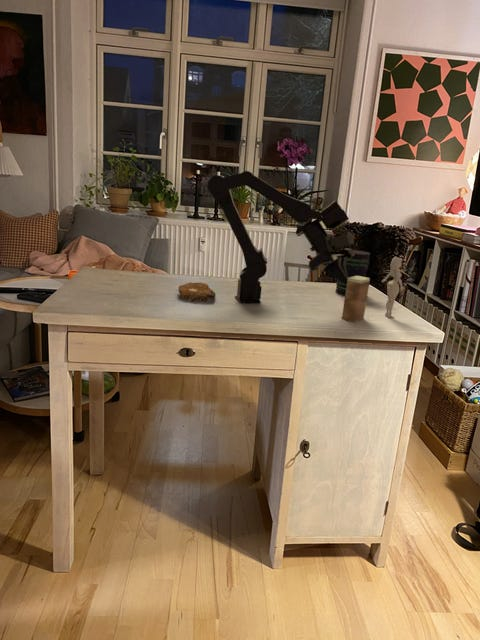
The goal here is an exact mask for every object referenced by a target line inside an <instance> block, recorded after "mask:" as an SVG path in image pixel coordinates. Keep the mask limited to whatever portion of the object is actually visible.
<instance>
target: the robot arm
mask: <svg viewBox="0 0 480 640" xmlns="http://www.w3.org/2000/svg"><path fill="white" fill-rule="evenodd" d="M244 186H245V187H248V188H249V189H250V190H251V189H252V190H253V191H254V192H256V193H258V194H260V195H261V196H262V197H264V198H266V199H268V200H269V201H270V202H272V203H274V204H275V205H277V206H278V207H280V208H281V209H282V210H283V211H284V212H285V213H286V214H287V215H288V216H290V217H291V219H292V220H294V221H295V222H297V223H299V224H300V223H301V224H302V223H303V225H297V226H296V231H295V234H296V236H297V237H300V236H302V235H304V237H305V239H306V240H307V241H308V243H309V245H310V246H311V247H310V248H309V250H310V251H311V252H315V253H316V255H315V256H314V257H312V259H310V260H309V261H308V268H309V270H310V271H311V272H316V271H318V267H320V266H321V265H324V268H323V269H322V272H325V273H327V274H328V275H330V276H332V277H333V278H335V279H336V280H337V279H338V280H340V281H341V282H343V283H344V284H347V281H348V278H349V277H348V274H347V270H346V266H345V263H346V261H347V260H349V259H350V258H351V257H353V256H354V255H355V253H354V251H353V250H354V249H352V248H345V247H348V246H353V245H355V239H356V237H355V236H354V234H353V233H351V232H350V231H346V232H342V234H341V235H339V236H335V237H334V236H333V235H329V234H328V233H327V231H326V230H331V231H335V229H337V228H338V227H340V226H342V225H343V224H345V223H346V222H348V221H349V220H350V219H349V217H348V215H347V213H346V211H345V210H344V209H343V208H342V206H341V205H340V204H339V203H338V201H337V200H333V202H331V203H330V204H329V205H327V206H326V207H325V208H322V209H321V210H320V211H319V209H314V208H311V205H309V204H308V203H307V202H305V201H303V200H301V199H297V198H294V197H292V196H289V195H288V194H285V193H283V192H282V191H280V190H279V189H277V188H275V187H274V186H272V185H271V184H269V183H268V182H266V181H264V180H263V179H261V178H259V177H258V176H256V175H255V174H253V172H251V171H250V170H245V171H243V172H239V173H237V174H232V175H227V176H224V175H213V176H211V177H210V178H209V180H208V182H207V186H206V187H207V191H208V192H209V194H210V195H211V197H213V199H214V201H215V202H216V203H217V205H218V206H219V207H220V208H221V210H222V212H223V213H224V215H225V218H226V220H227V222H228V224H229V225H230V226H229V227H230V228H231V230H232V231H233V235H234V236H235V237H234V238H236V241H237V243H238V245H239V247H240V249H241V252H242V255H243V259H244V263H245V267H244V268H243V269H242V270H241V271H240V274H239V279H237V290H236V295H234V298H235V299H236V301H238V302H239V303H246V304H247V303H249V304H251V303H255V304H256V303H257V304H259V303H261V297H262V286H261V281H260V279H261V278H263V277H265V275H266V274H267V272H268V271H267V270H268V268H267V267H268V258H267V257H266V255H265V254H264V251H263V248H259V249H258V248H257V247H256V246H255V245H254V242H253V240H252V238H251V236H250V234H249V232H248V230H247V228H246V226H245V223H244V221H243V219H242V217H241V215H240V213H239V211H238V208H237V206H236V205H235V202H234V198H233V194H232V189H233V190H234V189H237V188H239V187H244ZM310 220H312V221H310ZM321 222H322V223H321ZM322 224H323V225H324V226H323V225H322ZM324 227H325V228H324ZM325 229H326V230H325Z"/></svg>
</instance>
